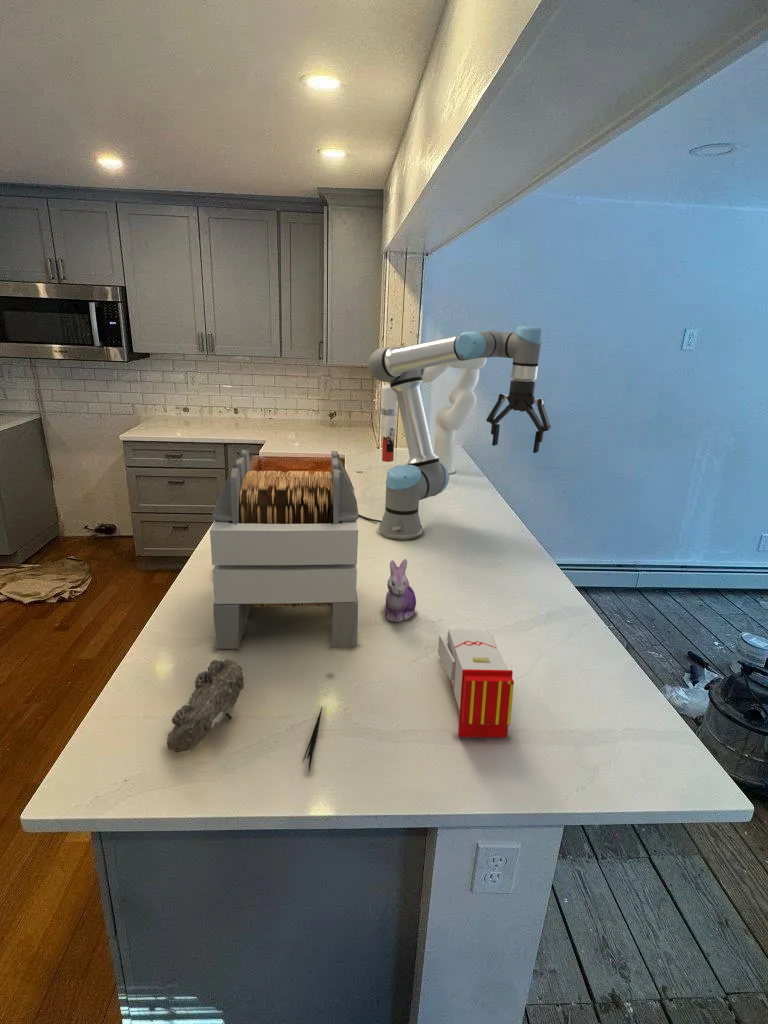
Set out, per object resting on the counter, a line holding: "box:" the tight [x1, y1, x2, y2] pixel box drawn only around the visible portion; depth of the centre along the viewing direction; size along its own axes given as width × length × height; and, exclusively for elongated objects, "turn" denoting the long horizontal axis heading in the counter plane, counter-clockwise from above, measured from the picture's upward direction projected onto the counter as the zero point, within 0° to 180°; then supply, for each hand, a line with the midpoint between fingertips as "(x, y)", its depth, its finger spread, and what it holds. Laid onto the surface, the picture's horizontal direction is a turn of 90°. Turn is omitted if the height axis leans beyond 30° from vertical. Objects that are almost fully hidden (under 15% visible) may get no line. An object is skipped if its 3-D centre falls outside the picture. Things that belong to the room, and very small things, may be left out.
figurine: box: [384, 558, 417, 623], centre depth 145 cm, size 9×10×15 cm
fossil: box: [166, 658, 245, 754], centre depth 106 cm, size 22×10×15 cm
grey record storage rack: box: [209, 449, 360, 651], centre depth 139 cm, size 34×33×41 cm
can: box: [381, 438, 395, 463], centre depth 269 cm, size 6×6×10 cm
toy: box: [437, 628, 515, 738], centre depth 117 cm, size 12×13×30 cm
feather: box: [301, 673, 332, 771], centre depth 108 cm, size 2×28×2 cm
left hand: (514, 448), depth 179 cm, fingers open, 13 cm apart
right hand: (388, 449), depth 269 cm, fingers closed on can, 5 cm apart
